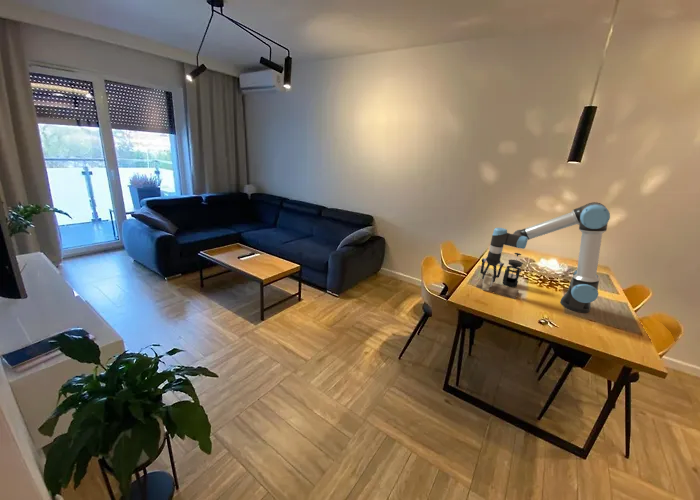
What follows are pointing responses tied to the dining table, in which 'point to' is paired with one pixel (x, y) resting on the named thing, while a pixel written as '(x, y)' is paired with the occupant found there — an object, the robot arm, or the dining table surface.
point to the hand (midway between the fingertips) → (487, 284)
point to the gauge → (487, 281)
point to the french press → (511, 278)
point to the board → (500, 289)
